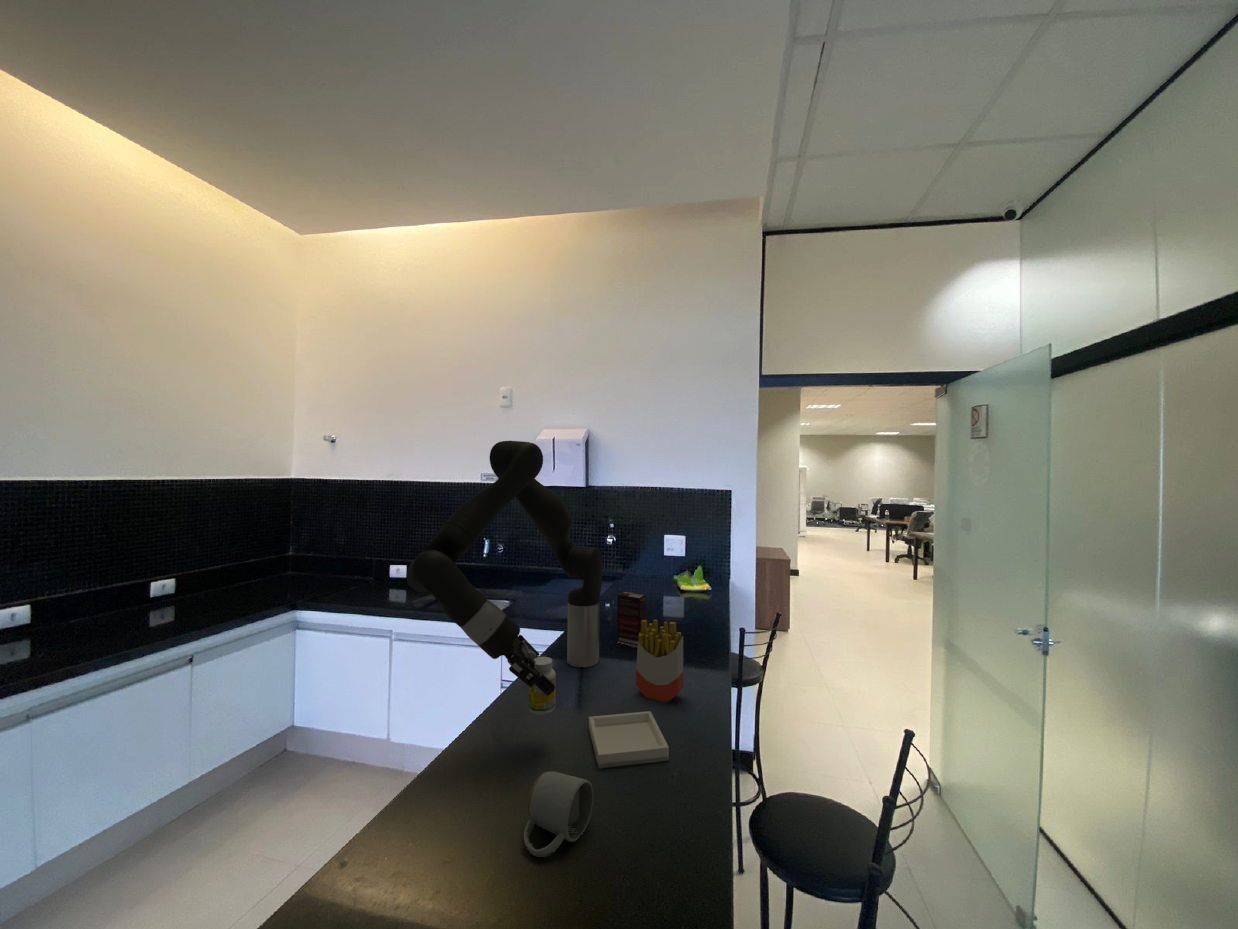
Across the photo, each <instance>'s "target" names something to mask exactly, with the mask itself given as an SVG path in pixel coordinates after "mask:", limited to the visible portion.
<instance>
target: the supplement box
mask: <svg viewBox="0 0 1238 929" xmlns="http://www.w3.org/2000/svg"><path fill="white" fill-rule="evenodd" d="M647 604H648V602H647V594H641V593H635V592H630V591H623V592H621V593H618V594H617V633H616V634H617V636H616V637H617V644H618V643H621V644H620V645H622V644H625V645H624V646H626V645H628V646H627V647H630V646H631V648H635V647H636V648H635V649H638V639H639V638H638V635H639V632H640V631H641V630H642V626H641V621H642V620H647V613H648V612H647V611H648V610H647V607H648V606H647ZM647 621H648V620H647Z"/></svg>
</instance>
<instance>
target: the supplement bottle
mask: <svg viewBox="0 0 1238 929" xmlns="http://www.w3.org/2000/svg"><path fill="white" fill-rule="evenodd" d="M534 660H535V662H536V667H537V668H538V669H539V670H540V671H541V672H542V674H543V675H544V676H545V677H547V678H548V679H549V680H550V681H551V682H552V683H553V684H554V685H555V686H556V676H557V675H556V671H555V670H554V669H553V659H552V658H551V657H548V656H539V657H538V658H535V659H534ZM529 675H530V676H531V677H532V676H533V675H532V674H531V673H530V674H529ZM527 694H528V698H527V699H528V703H527V705H528V710H529V711H530V713H531V714H534V715H539V716H540V715H542V716H543V715H547V714H549V713H551V712H553V711H554V710H555V708H556V689H555V690H554V691H553V692H552V693H551V694H550V695H546V694H545V693H544V692H543V691H541V690H540V689H539V688H538V687H537V686H536V685H535V684H534V685H533V686H532V687H530V686H528V693H527Z"/></svg>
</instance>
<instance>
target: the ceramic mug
mask: <svg viewBox="0 0 1238 929" xmlns="http://www.w3.org/2000/svg"><path fill="white" fill-rule="evenodd" d="M593 806H594V791H593V785H592V783H591V781H590V780H588V779H584V778H581V777H577V776H573V775H569V774H565V773H562V772H558V771H545V772H543V773H541V774H540V775H539V776H538V777H537V778H536V780H535V781H534V783H533V784H532V786H531V789H530V791H529V795H528V800H527V813H528V817H529V820H528V822H527V823H526V826H525V828H524V832H523V842H524V845H525V848H526V847H527V848H526V850H527V849H529V850H530V851H531V852H533V853H536V854H540V855H543V854H548V853H551V852H553V853H555V852H556V850H557V849H558V848H559V847H560V846H561V845H562V843H563V841H564V840H566V841H568V842H571V843H575V842H576V841H578V840H579V839H580V838H581V837H580V835H583V834H584V833H585V831H586V829H587V826H588V825H589V822H590V819H591V816H592V811H593ZM535 825H536V826H538V827H539V828H542V829H543V830H546V831H547V832H550V833H552V834H554V835H556V836H555V838H553V840H552V841H551V842H550V843H549V844H548V845H547V846H544V847H542V848H539V849H536V848H534V846H532V845H533V843H530V840H529V839H530V837H531V833H532V830H533V828H534V826H535ZM569 826H572V827H570V828H575V829H576V830H574V832H576V831H577V832H578V833H568V832H572V831H568V827H569ZM570 830H571V829H570ZM583 832H584V833H583ZM579 837H580V838H579ZM578 838H579V839H578ZM577 839H578V840H577Z"/></svg>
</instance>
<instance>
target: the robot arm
mask: <svg viewBox="0 0 1238 929" xmlns="http://www.w3.org/2000/svg"><path fill="white" fill-rule="evenodd" d="M489 465H490V467H491V470H492V471H493V474H494V475H495V476H496V477H497V480H495V481H494V482H493V483H492V484H491V485H489V486H488V487H486V488H485V489H483V490H482V491H480V492H478V493H476V494H475V495H473V496H471V497H470V498H468V499H467V500H466V501H465V502H463V503H462V504H461V505H460V506H459V507H458V508H456V510H455V511H454V512H453V513H452V514H451V516H450V517H449V518H448V519H447V520H446V521H445V523H444V524H443V526H442V527H441V528H440V530H438V533H437V534H436V535H435V537H434V538H433V539H432V540H431V541H430V542H429V543H428V544H427V545H426V546H425V548H424V549H423V550H422V551H421V552H420V553H419V554H417V556H416V557H415V558H414V559H413V560H412V562H411V563H410V564H409V566H408V567H407V570H406V581H407V582H406V583H407V584H408V585H409V587H410V588H411V589H412V590H414V591H416V592H418V593H427V592H428V593H430V595H432V597H434V599H436V600H437V601H438V603H440V604H441V609H442V611H443V612H444V614H445V615H446V616H448V617H449V618H450V620H452V621H453V623H455V624H456V625H457V626H458V628H459V627H460V629H461V630H462V631H463V633H465V634H466V635H465V636H468V638H469V639H470V640H472V642H474V643H475V644H476V645H477V646H478V648H480V649H481V650H482V651H484V653H486V654H487V655H488V656H489V657H490V658H491V659H492V660H496V659H499V658H500V657H505V659H507V660H506V662H507V663H508V664H509V665H510V666H509V667H508V670H509V672H511V674H513V675H514V676H516V678H518V679H519V680H521V681H522V682H524V683H525V684H526V685H527V686H528V687H529V686H530V687H532V686H533V685H534V684H535V685H536V686H537V687H538V688H539V689H540V690H541V691H543V692H544V693H545V694H546V695H550V694H551V693H552V692H553V691H554V690H555V691H556V684H555V685H554V684H553V683H552V682H551V681H550V680H549V679H548V678H547V677H545V676H544V675H543V674H542V672H541V671H540V670H539V669H538V668H537V667H536V662H535V660H534V659H535V658H538V657H540V653H539V651H538V650H536V648H534V647H533V645H532V644H531V643H529V641H528V640H527V639H526V638H525V637H524V636H523V635H522V634H520V633H521V627H520V626H519V625H518V624H517V623H516V622H515V621H514V620H512V619H511V617H510V616H508V615H507V614H506V613H505V612H504V611H503V610H502V609H501V608H500V607H498V605H497V604H494V603H493V602H492V601H491V600H489V599H488V598H487V597H486V596H485V595H484V594H482V593H481V592H480V590H478V589H477V588H476V587H475V586H473V585H472V584H471V583H470V581H468V578H467V577H466V575H465V574H464V573H463V572H462V571H461V569H460V568H459V567H458V565H457V564H456V563H457V562H458V560H459V559H460V558H461V557H462V556H463V555H464V554H465V553H467V552H468V550H469V549H470V548H471V547H472V546H473V545H474V543H475V542H476V541H477V540H478V538H479V537H480V536H481V534H482V533H483V532H484V530H485V529H486V528H487V526H488V525H489V524H490V523H491V522H492V520H494V519H495V517H496V516H497V515H498V514H499V513H500V512H501V511H502V510H503V509H504V508H505V507H506V506H507V505H508V504H509V503H510V502H512V501H513V499H515V498H516V500H517V501H518V503H519V504H520V506H521V507H522V508H523V510H524V511H525V512H526V514H527V515H528V517H529V518H530V520H531V521H532V523H533V524H534V526H535V528H537V529H536V530H538V532H539V533H540V534H541V536H542V537H543V538H544V540H545V541H546V542H547V544H548V546H549V547H550V549H551V550H552V552H553V554H554V555H555V558H556V560H557V562H558V564H559V566H560V567H561V569H562V571H563V572H564V574H565V575H567V576H568V577H570V578H574V579H581V580H583V583H582V586H581V587H579V588H574V589H572V590H570V591H569V592H568V594H567V633H566V634H567V641H566V642H567V643H566V644H567V646H566V649H567V650H566V652H567V653H566V661H567V662H566V663H567V664H568V665H569V664H570V666H571V667H574V668H581V667H583V668H591V667H593V666H596V665H597V664H598V663H599V661H600V596H601V592H602V579H603V578H602V577H603V555H602V552H601V550H600V549H599V548H597V547H592V546H583V545H576V544H575V543H574V542H573V541H572V539H571V537H570V534H571V530H572V525H573V521H572V520H573V519H572V517H571V514H570V512H569V510H568V508H567V507H566V505H565V504H564V502H563V501H562V500H561V498H560V497H559V496H558V495H557V494H556V493H555V492H553V491H552V490H550V489H549V488H548V487H546V486H545V485H544V484H542V483H541V482H540V481H539V480H537V479H536V477H537V476H538V475H539V474H540V472H541V471H542V468H543V465H544V455H543V452H542V449H541V448H540V447H539V446H538V445H537V444H536V443H534V442H530V441H522V440H521V441H520V440H503V441H502V440H501V441H498V442H497V443H495V444H494V445H493V446H492V447H491V449H490V453H489ZM530 673H531V674H532V675H533V676H532V677H531V676H530V675H529V674H530Z"/></svg>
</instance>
